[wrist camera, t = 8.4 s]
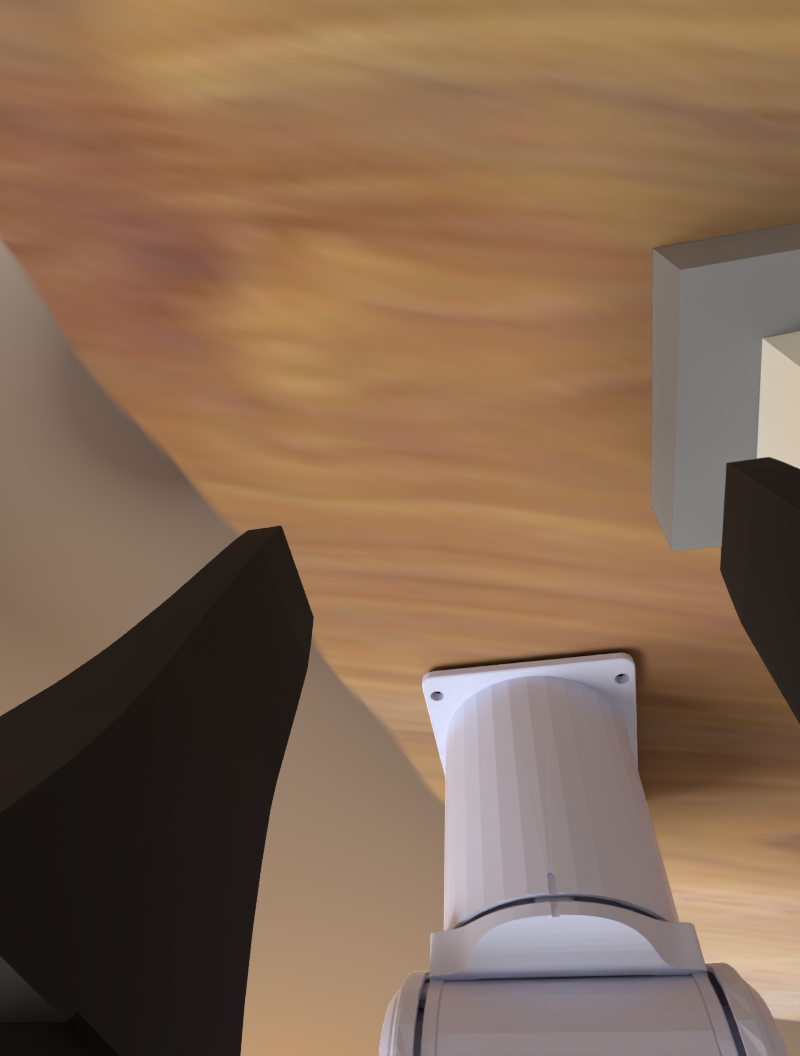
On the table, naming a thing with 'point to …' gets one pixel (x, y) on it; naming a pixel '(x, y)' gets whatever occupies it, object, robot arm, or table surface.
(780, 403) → the cream block
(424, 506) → the table surface
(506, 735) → the robot arm
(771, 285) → the gray base block
